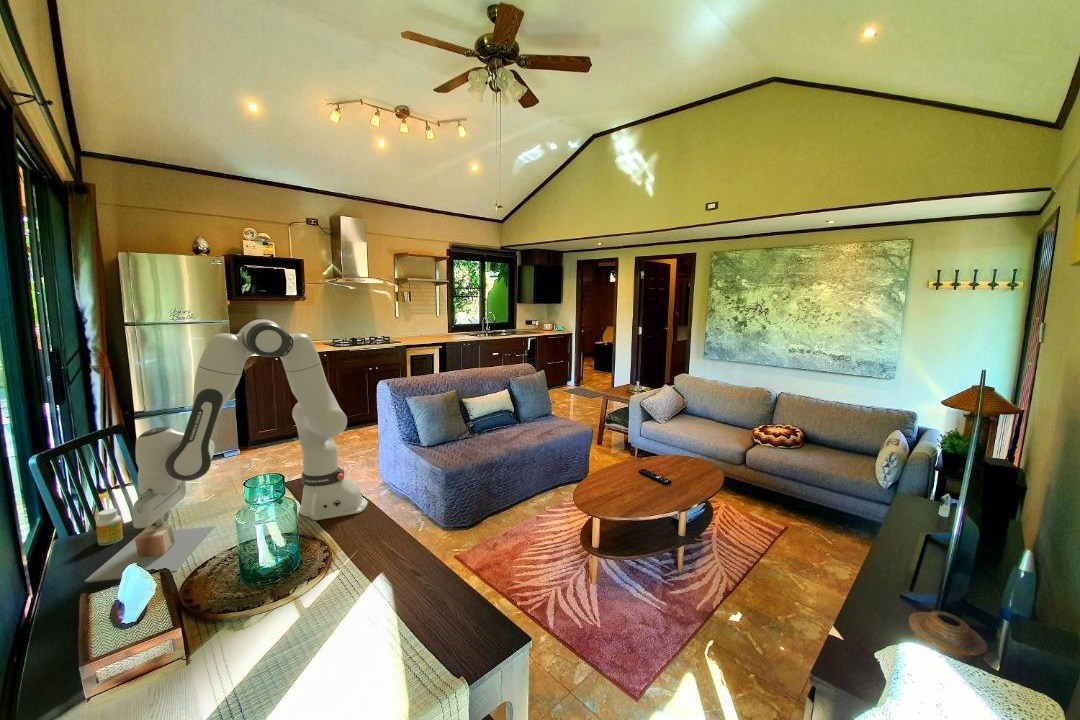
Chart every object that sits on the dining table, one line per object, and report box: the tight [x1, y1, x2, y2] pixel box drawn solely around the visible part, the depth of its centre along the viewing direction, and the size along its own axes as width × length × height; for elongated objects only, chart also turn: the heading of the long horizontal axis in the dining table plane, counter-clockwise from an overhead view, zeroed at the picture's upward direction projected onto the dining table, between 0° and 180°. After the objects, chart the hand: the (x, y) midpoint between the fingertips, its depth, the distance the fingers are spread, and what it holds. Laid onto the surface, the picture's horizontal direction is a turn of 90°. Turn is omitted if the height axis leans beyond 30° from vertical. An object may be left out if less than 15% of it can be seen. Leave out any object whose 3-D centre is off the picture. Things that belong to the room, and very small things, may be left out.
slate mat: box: [84, 526, 216, 583], centre depth 127 cm, size 20×24×1 cm
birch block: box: [135, 523, 175, 557], centre depth 127 cm, size 6×6×6 cm
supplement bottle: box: [95, 508, 124, 546], centre depth 131 cm, size 5×5×10 cm
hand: (162, 526), depth 130 cm, fingers closed
